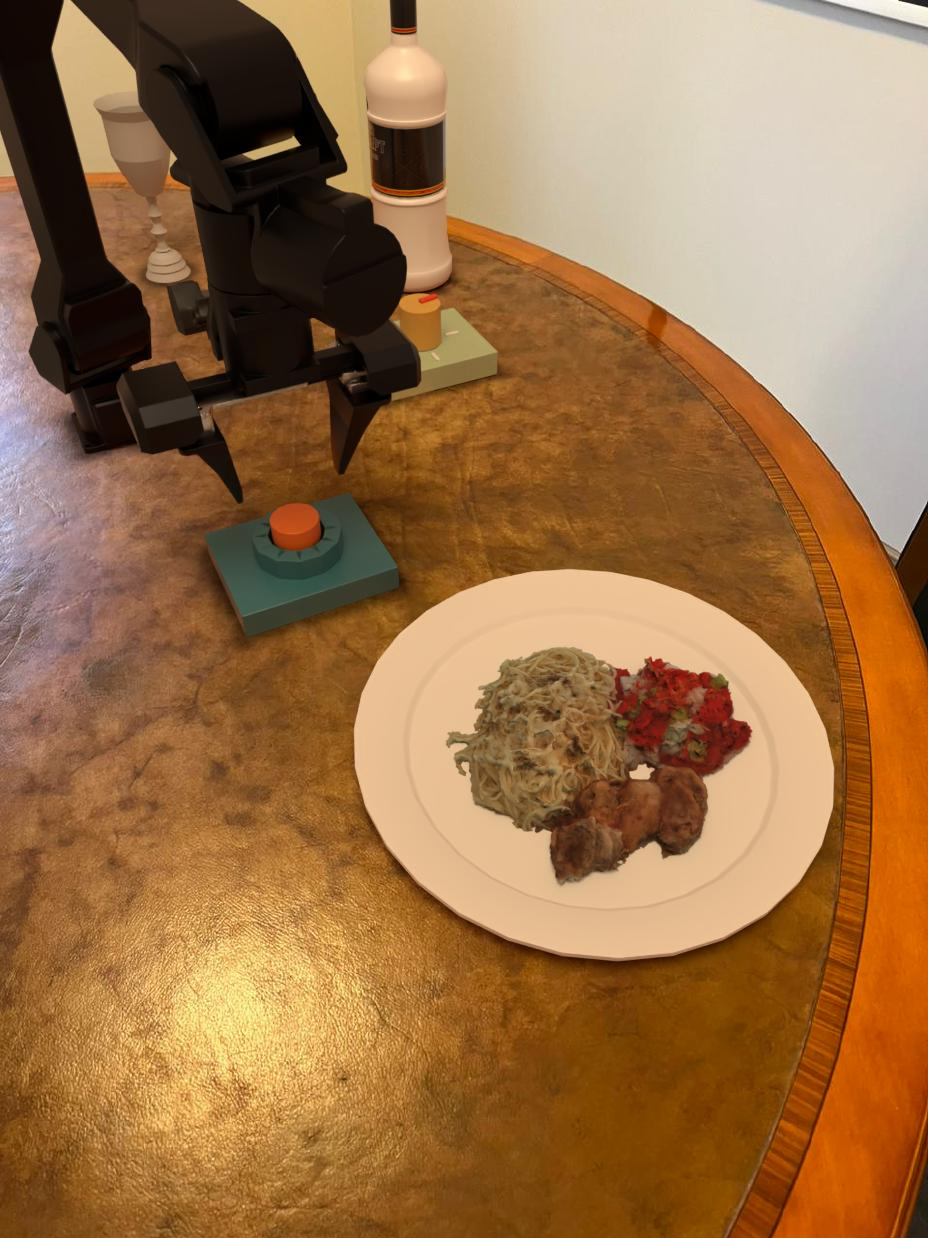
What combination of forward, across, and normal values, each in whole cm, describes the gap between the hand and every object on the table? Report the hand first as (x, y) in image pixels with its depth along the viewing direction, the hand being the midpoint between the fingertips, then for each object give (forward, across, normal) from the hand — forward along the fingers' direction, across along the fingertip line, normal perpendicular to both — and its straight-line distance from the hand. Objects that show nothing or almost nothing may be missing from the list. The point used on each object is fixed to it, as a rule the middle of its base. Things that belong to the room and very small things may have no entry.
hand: (289, 485), depth 66 cm
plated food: (+8, -11, +24) cm, 28 cm away
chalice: (+8, -3, -55) cm, 56 cm away
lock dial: (+6, -21, -24) cm, 32 cm away
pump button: (+5, 0, 0) cm, 5 cm away
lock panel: (+8, -21, -24) cm, 33 cm away
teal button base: (+8, 0, 0) cm, 8 cm away
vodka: (+8, -28, -42) cm, 51 cm away
